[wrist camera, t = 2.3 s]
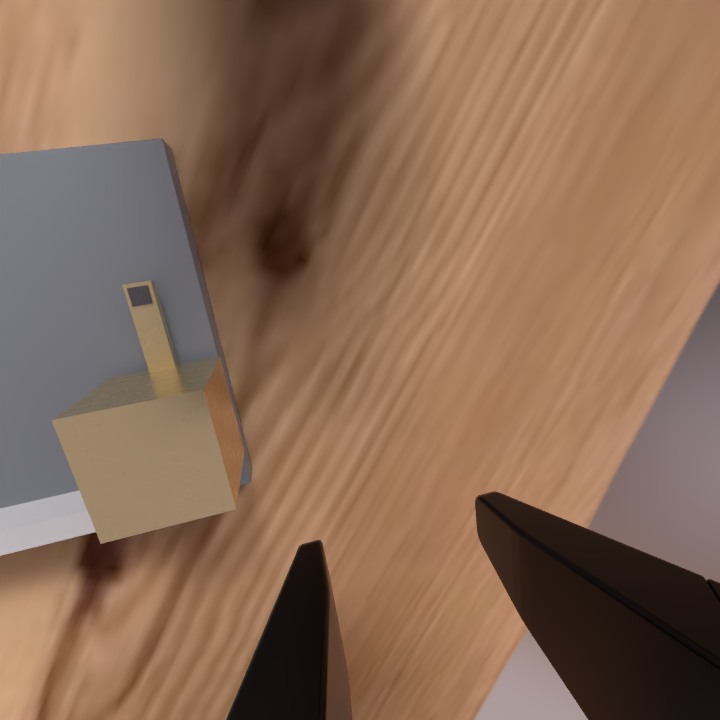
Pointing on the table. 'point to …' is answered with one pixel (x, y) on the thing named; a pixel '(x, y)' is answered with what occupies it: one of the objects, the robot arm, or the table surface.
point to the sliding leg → (154, 436)
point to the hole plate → (84, 309)
